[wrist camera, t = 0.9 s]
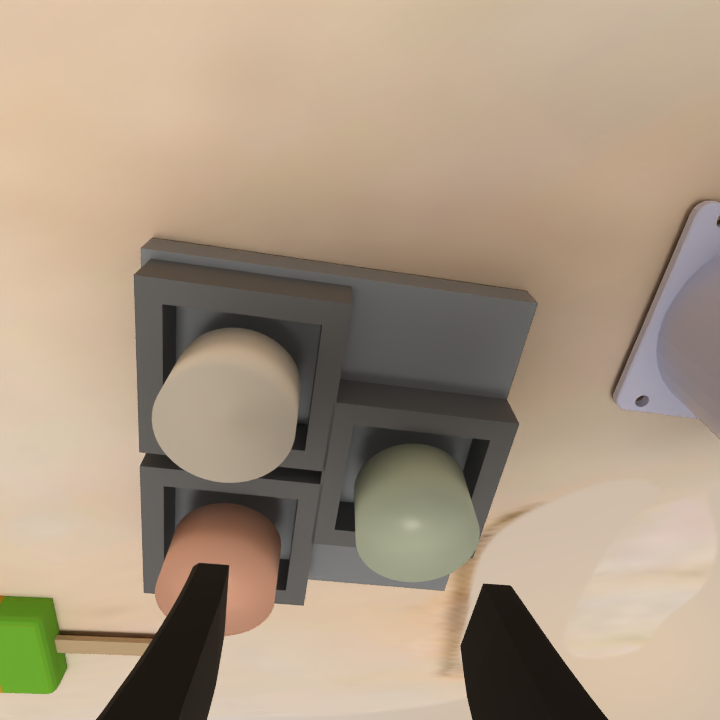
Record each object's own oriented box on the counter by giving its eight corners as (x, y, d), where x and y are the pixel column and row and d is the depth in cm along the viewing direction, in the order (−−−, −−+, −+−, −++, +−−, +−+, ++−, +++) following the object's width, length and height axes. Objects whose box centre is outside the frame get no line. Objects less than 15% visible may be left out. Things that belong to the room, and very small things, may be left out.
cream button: (307, 336, 17) (303, 374, 15) (294, 441, 19) (288, 489, 17) (174, 319, 17) (150, 355, 14) (174, 429, 18) (152, 475, 16)
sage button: (477, 450, 19) (493, 497, 17) (450, 534, 21) (463, 587, 19) (363, 437, 19) (366, 484, 17) (346, 524, 21) (347, 577, 18)
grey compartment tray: (527, 291, 20) (553, 322, 17) (439, 569, 26) (450, 622, 23) (152, 237, 18) (122, 263, 16) (156, 544, 25) (136, 597, 22)
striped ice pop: (-150, 580, 26) (-184, 616, 24) (178, 593, 27) (168, 629, 25) (-116, 656, 28) (-145, 693, 27) (183, 665, 29) (174, 701, 28)
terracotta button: (286, 508, 20) (279, 560, 18) (276, 584, 22) (269, 640, 20) (174, 497, 20) (154, 549, 18) (173, 576, 22) (155, 631, 19)
